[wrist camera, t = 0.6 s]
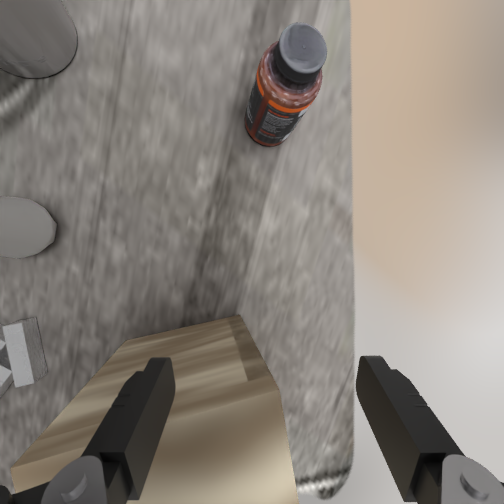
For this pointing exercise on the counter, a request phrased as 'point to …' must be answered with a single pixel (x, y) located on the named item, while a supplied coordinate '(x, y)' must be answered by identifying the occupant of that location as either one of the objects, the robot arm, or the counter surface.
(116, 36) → the counter surface
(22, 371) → the grey angled bar piece
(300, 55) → the supplement bottle
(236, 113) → the counter surface
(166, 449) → the shelf
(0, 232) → the salt shaker
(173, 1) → the counter surface
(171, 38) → the counter surface
